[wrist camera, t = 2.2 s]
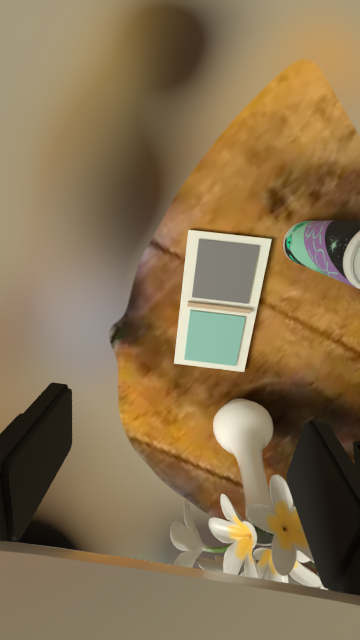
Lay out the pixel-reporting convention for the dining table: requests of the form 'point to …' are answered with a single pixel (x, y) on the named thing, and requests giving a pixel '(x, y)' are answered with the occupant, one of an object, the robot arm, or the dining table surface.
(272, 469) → the dining table surface
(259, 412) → the flower vase
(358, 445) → the black angular piece
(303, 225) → the spray can
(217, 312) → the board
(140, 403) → the dining table surface
